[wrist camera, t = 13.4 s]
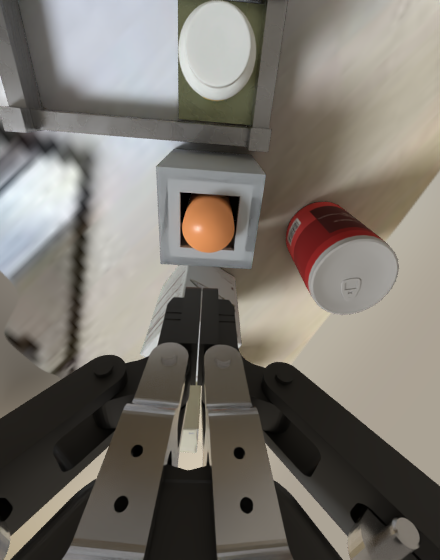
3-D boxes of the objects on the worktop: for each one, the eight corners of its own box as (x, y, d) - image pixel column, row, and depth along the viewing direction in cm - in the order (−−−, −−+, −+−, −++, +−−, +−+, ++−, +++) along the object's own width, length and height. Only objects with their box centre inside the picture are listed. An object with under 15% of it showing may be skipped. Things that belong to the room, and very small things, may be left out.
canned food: (294, 269, 36) (321, 325, 27) (275, 216, 32) (299, 260, 23) (353, 247, 34) (404, 298, 25) (340, 188, 31) (395, 223, 21)
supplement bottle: (175, 73, 25) (155, 57, 17) (209, 8, 22) (206, -48, 14) (222, 115, 26) (225, 118, 18) (259, 58, 24) (281, 33, 16)
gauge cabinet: (175, 223, 32) (160, 263, 24) (174, 148, 28) (156, 166, 20) (243, 227, 33) (253, 269, 24) (253, 155, 29) (268, 175, 20)
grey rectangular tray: (31, 127, 27) (4, 130, 24) (-17, -60, 20) (-63, -93, 17) (261, 146, 28) (268, 151, 25) (286, -25, 22) (299, -50, 18)
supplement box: (237, 276, 37) (245, 346, 26) (204, 311, 40) (199, 386, 29) (191, 245, 34) (180, 309, 23) (160, 285, 37) (137, 357, 26)
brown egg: (188, 222, 27) (182, 251, 22) (189, 180, 25) (182, 201, 20) (228, 224, 28) (231, 254, 22) (232, 184, 25) (237, 205, 20)
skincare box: (176, 352, 44) (163, 427, 34) (203, 353, 44) (199, 428, 34) (175, 378, 47) (164, 453, 37) (201, 379, 48) (196, 454, 37)
